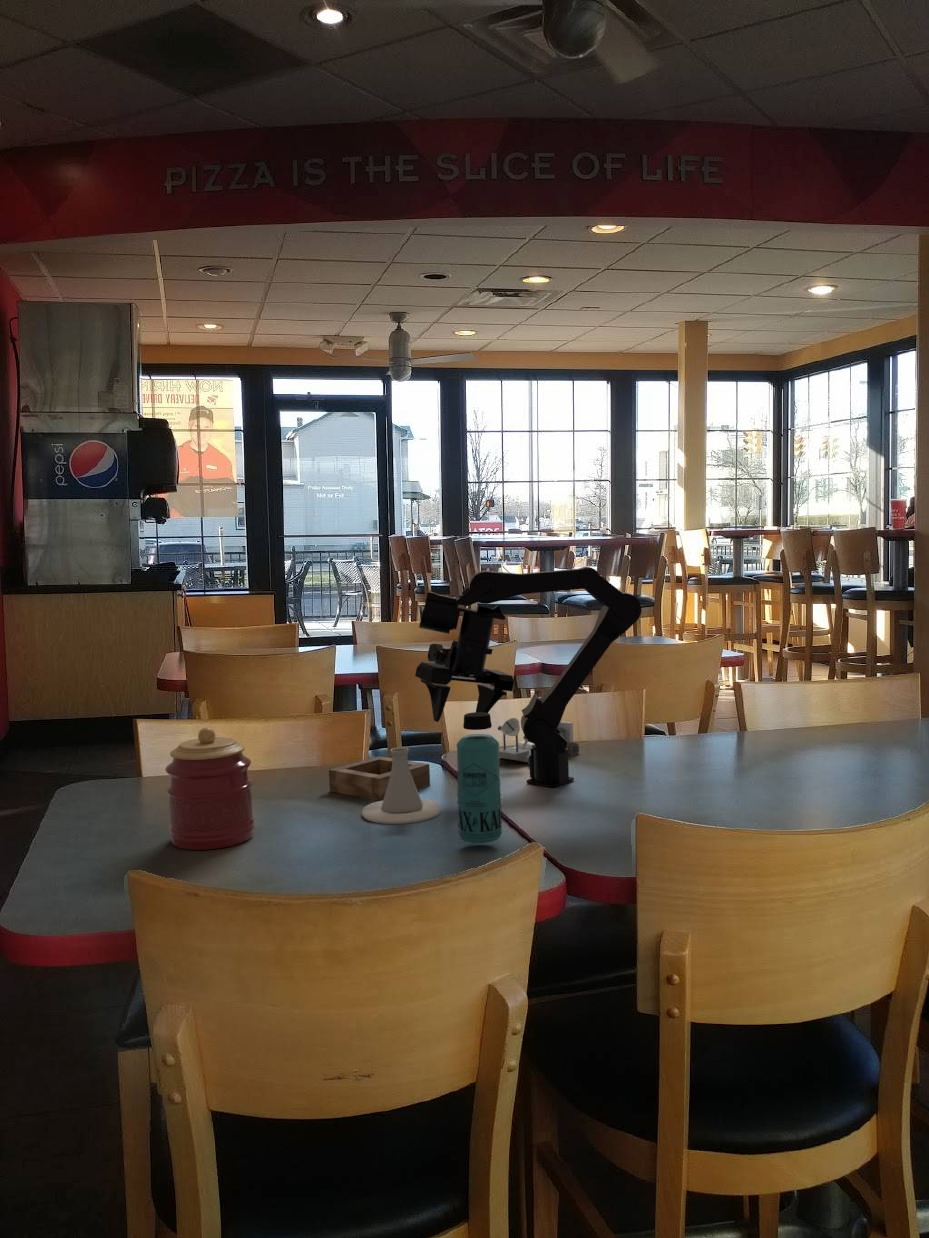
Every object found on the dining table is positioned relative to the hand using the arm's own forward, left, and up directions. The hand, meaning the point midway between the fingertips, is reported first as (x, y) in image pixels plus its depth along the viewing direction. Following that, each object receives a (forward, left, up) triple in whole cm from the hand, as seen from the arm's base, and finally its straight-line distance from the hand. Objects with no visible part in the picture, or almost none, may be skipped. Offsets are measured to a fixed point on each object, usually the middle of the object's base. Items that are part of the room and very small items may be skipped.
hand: (456, 722), depth 189 cm
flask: (-4, +19, -11) cm, 22 cm away
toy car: (+3, -25, -12) cm, 28 cm away
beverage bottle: (-27, +26, -12) cm, 39 cm away
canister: (+11, +46, -12) cm, 49 cm away
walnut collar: (+11, +9, -12) cm, 19 cm away
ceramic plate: (-4, +19, -12) cm, 23 cm away
